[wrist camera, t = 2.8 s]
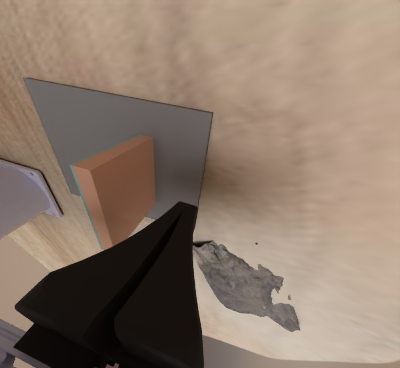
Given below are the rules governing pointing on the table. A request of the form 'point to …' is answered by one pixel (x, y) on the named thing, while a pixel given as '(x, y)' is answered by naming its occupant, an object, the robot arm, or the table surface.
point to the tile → (117, 188)
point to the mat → (126, 135)
